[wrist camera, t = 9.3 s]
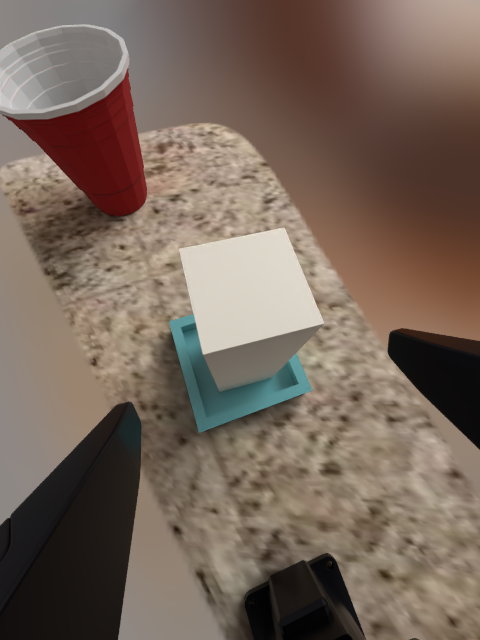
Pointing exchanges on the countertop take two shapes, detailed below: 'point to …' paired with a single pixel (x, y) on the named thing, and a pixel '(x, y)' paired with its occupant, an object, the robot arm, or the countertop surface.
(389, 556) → the countertop surface
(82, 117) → the plastic cup
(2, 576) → the robot arm
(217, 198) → the countertop surface
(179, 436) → the countertop surface
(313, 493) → the countertop surface
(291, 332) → the cream block
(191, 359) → the teal dish
